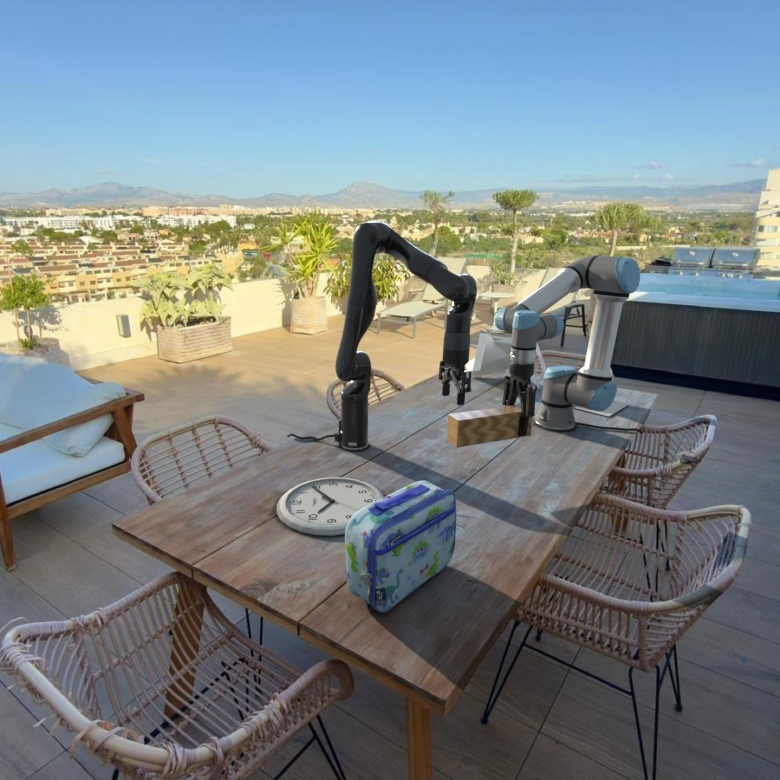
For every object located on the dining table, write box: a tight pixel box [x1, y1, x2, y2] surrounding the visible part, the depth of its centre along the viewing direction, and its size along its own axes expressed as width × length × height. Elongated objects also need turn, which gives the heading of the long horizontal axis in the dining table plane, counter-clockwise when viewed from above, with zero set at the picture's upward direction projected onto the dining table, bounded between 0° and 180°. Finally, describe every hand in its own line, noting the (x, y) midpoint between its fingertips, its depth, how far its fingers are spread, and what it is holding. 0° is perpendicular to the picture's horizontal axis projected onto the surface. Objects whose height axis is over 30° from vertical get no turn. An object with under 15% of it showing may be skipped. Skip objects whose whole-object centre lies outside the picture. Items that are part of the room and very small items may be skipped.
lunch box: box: [344, 480, 457, 614], centre depth 109 cm, size 26×11×21 cm, turn 135°
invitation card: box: [573, 400, 629, 418], centre depth 226 cm, size 21×1×15 cm
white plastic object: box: [465, 332, 547, 390], centre depth 260 cm, size 37×45×31 cm
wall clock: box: [276, 476, 386, 537], centre depth 142 cm, size 30×2×30 cm
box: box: [446, 403, 534, 449], centre depth 162 cm, size 27×6×9 cm, turn 113°
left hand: (452, 400), depth 153 cm, fingers open, 8 cm apart
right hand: (515, 431), depth 167 cm, fingers closed on box, 6 cm apart
